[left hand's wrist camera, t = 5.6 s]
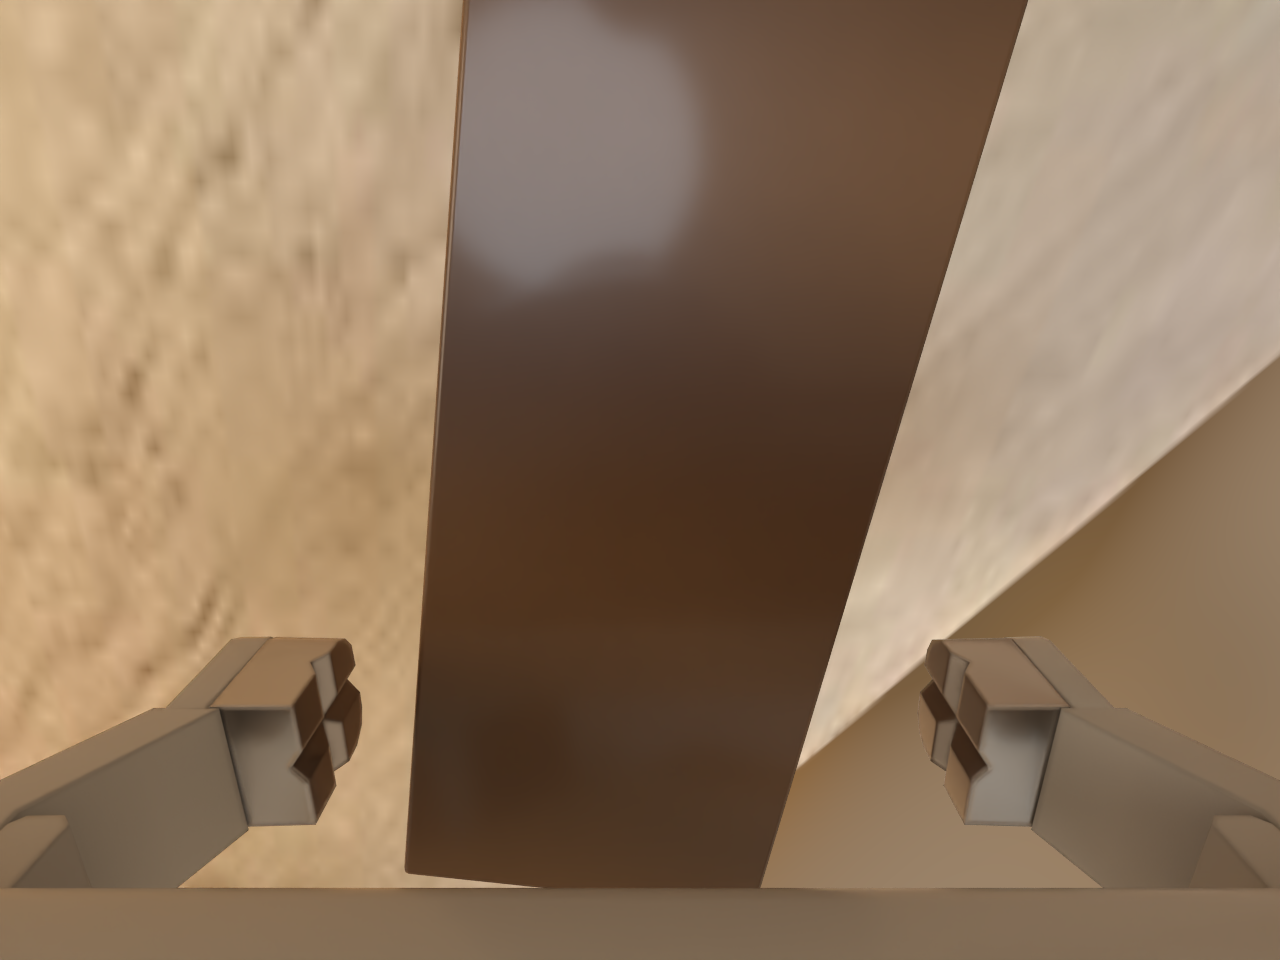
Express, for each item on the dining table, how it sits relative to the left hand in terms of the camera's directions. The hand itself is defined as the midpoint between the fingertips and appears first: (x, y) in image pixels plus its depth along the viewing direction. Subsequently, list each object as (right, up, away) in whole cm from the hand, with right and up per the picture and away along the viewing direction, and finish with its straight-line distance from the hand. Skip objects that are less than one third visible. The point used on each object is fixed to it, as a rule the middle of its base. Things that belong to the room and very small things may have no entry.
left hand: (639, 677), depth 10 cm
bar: (+1, +11, +4) cm, 12 cm away
